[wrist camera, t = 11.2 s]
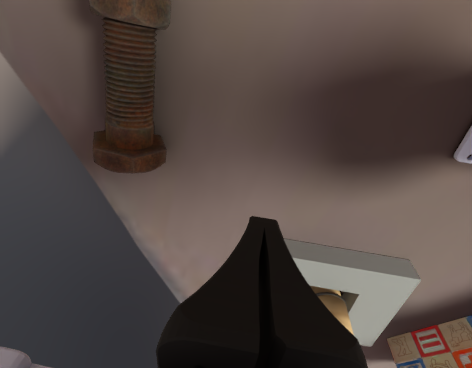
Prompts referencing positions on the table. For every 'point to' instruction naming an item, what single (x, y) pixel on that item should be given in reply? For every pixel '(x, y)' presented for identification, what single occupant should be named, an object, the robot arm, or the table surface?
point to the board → (358, 283)
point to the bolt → (130, 85)
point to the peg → (334, 304)
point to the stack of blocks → (435, 346)
